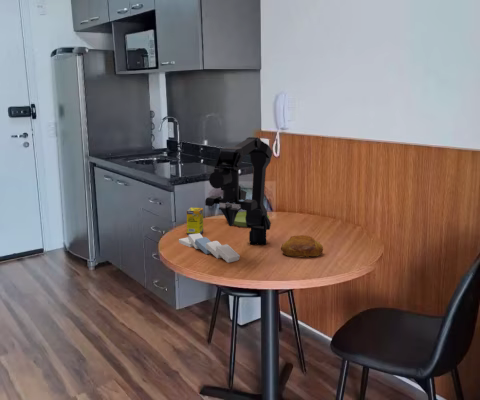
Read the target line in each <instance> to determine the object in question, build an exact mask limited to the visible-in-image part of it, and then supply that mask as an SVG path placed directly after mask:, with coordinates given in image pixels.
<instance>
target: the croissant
mask: <svg viewBox="0 0 480 400" xmlns="http://www.w3.org/2000/svg"><path fill="white" fill-rule="evenodd" d="M323 247H324V246H323V244H322V243H320V241H317V240H316V239H315V238H313V237H312V236H309V235H307V234H306V235H293V236H290V237H289V238H288V239H287V240H286V241H285V242H284V243H283V244H282V245H281V248H280V250H281V252H282V253H283V255H285V256H286V255H287V256H286V257H294V256H306V257H305V258H310V257H309V256H316V257H318V256H321V255H320V254H322V253H323V252H324V248H323Z"/></svg>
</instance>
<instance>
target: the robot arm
mask: <svg viewBox="0 0 480 400" xmlns="http://www.w3.org/2000/svg"><path fill="white" fill-rule="evenodd" d="M246 155H249V161H250V163H251V165H252V167H253V173H252V174H253V176H252V189H251V190H252V191H251V199H249V198H248V199H246V198H247V197H246V196H247V191H245V190H243V189H241V188H242V187H241V185H240V184H239V183H240V175H239V174H240V173H239V172H240V170H241V169H242V168H241V166H240V165H241V163H242V162H243V161H244V159H243V158H244V157H245V156H246ZM272 156H273V151H272V148H271V147H270V146H269V144H268V143H266V142H264V141H262V140H261V138H259V137H254V136H252V137H251V136H249V137H246V138H245V140H243V141H241V142H239V143H238V144H236V145H235V146H227V147H223V148H221V150H220V152H219V153H218V155H217V160H216V162H215V165H214V169H213V172H212V173H211V174H210V175H209V177H208V182H209V184H210V186H211V187H212V188H214V189H216V190H217V189H220V190H221V191H222V196H219V195H210V196H208V197H206V198H205V200H204V205H205V207H213V206H214V205H219V207H218V210H220V212H222V214H223V215H224V218H225V219H226V222H227V224H228V226H229V227H233V226H234V225H233V224H234V221H235V218H236V215H237V213H238V212H240V211H241V210H242V211H246V218H245V220H246V225H247V227H246V228H247V229H250V230H249V232H248V233H249V234H248V236H249V238H248V239H249V243H250V245H264V246H265V245H267V241H268V240H267V230H268V231H270V229H271V227H272V225H271V224H272V222H271V221H270V218H269V219H268V217H267V215H268V210H267V208H266V207H265V204H264V201H265V188H266V187H265V186H266V173H267V172H266V171H267V167H268V166H269V164H270V163H271V159H272Z"/></svg>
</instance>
